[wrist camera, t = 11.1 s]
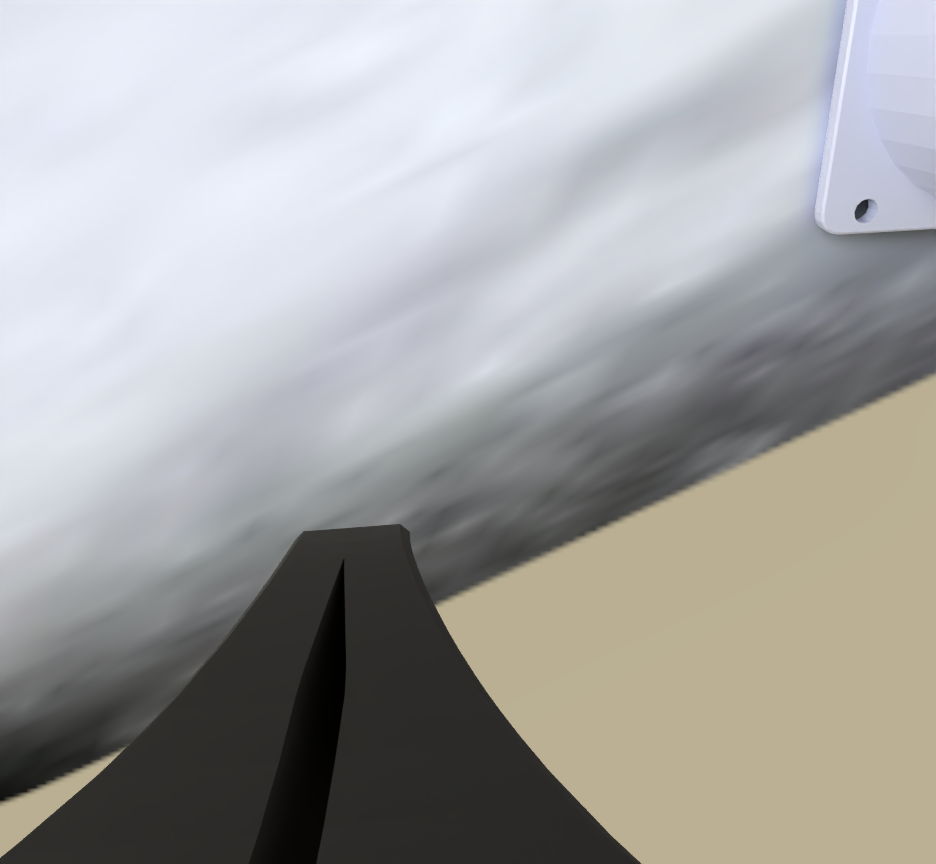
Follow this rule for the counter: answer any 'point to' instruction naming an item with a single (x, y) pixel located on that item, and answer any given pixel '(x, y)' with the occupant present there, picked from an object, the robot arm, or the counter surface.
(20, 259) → the counter surface
